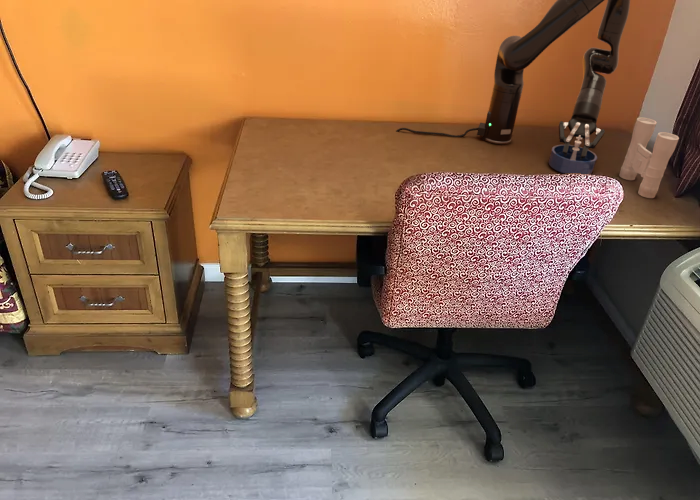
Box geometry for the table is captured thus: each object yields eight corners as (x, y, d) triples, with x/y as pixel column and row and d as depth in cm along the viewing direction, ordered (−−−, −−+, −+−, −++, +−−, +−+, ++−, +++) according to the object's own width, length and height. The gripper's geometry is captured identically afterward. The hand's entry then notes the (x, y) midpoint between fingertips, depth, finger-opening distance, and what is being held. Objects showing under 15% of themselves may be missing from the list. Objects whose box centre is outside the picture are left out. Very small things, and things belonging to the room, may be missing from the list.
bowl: (547, 172, 183) (551, 156, 181) (548, 156, 194) (552, 141, 192) (593, 180, 180) (598, 165, 178) (591, 164, 191) (596, 149, 189)
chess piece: (580, 170, 185) (589, 139, 179) (563, 167, 185) (572, 137, 180) (578, 164, 189) (587, 133, 184) (562, 161, 189) (570, 131, 184)
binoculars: (614, 172, 187) (633, 116, 177) (631, 173, 187) (650, 117, 178) (642, 198, 172) (664, 139, 163) (660, 199, 173) (683, 140, 163)
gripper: (565, 96, 185) (550, 146, 182) (613, 105, 181) (600, 156, 178) (562, 108, 192) (548, 156, 189) (609, 117, 188) (595, 166, 185)
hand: (573, 156), depth 183 cm, fingers open, 4 cm apart
